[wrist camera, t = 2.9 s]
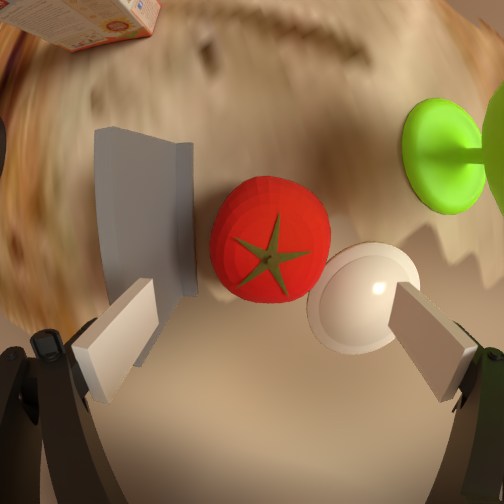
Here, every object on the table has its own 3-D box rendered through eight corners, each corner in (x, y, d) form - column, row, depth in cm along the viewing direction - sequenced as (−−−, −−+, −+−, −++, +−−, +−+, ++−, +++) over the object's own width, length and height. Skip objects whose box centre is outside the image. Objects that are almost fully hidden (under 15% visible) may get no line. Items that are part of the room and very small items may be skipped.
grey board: (152, 146, 29) (75, 134, 15) (193, 143, 29) (136, 122, 15) (160, 291, 34) (107, 361, 20) (198, 293, 34) (160, 370, 20)
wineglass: (396, 206, 30) (500, 244, 13) (401, 83, 26) (494, 36, 8) (480, 222, 30) (569, 258, 13) (485, 118, 25) (574, 111, 8)
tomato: (212, 271, 33) (191, 313, 23) (228, 168, 30) (211, 166, 20) (303, 287, 33) (319, 334, 23) (327, 188, 30) (358, 196, 20)
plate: (311, 239, 32) (312, 241, 31) (426, 243, 31) (430, 245, 30) (301, 353, 36) (301, 357, 35) (402, 346, 36) (405, 349, 35)
